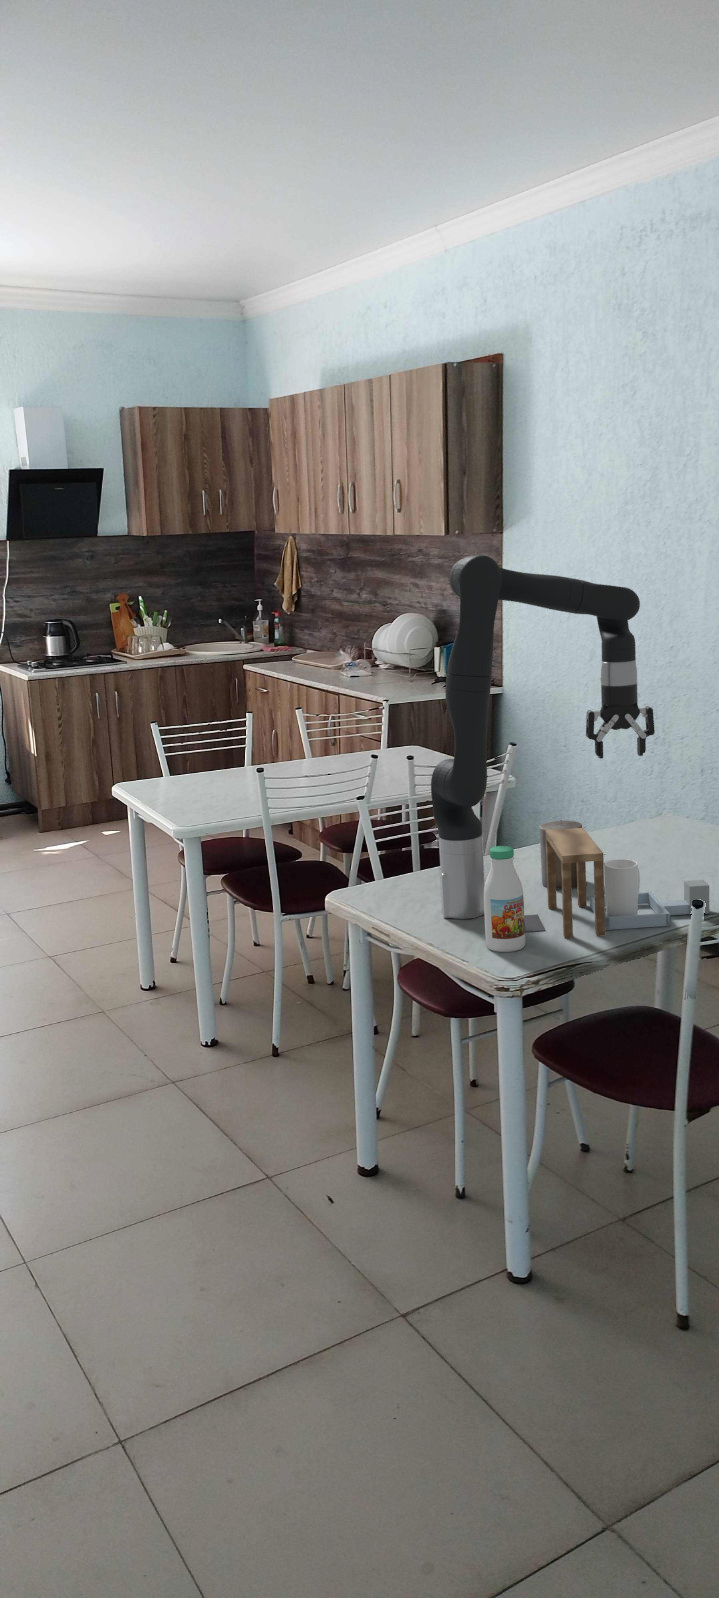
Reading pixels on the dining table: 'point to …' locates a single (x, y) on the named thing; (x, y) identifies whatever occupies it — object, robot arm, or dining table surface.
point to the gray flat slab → (533, 923)
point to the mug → (621, 887)
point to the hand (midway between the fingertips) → (620, 756)
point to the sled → (659, 907)
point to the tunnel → (581, 850)
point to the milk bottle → (503, 903)
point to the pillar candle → (555, 826)
